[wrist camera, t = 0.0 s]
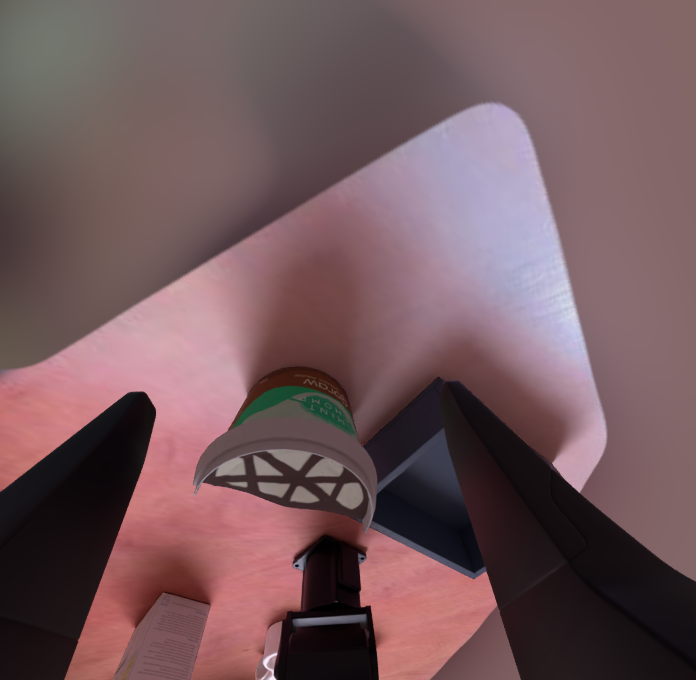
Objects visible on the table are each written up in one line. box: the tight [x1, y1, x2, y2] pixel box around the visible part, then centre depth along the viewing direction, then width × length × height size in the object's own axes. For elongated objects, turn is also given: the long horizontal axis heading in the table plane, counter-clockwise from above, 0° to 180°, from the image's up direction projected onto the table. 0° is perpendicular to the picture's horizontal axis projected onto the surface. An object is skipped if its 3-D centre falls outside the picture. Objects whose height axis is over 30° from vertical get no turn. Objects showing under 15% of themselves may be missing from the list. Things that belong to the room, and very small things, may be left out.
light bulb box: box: [113, 592, 211, 680], centre depth 38 cm, size 11×7×11 cm, turn 146°
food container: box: [193, 367, 377, 534], centre depth 24 cm, size 12×6×10 cm, turn 67°
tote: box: [349, 377, 565, 579], centre depth 31 cm, size 14×18×5 cm
